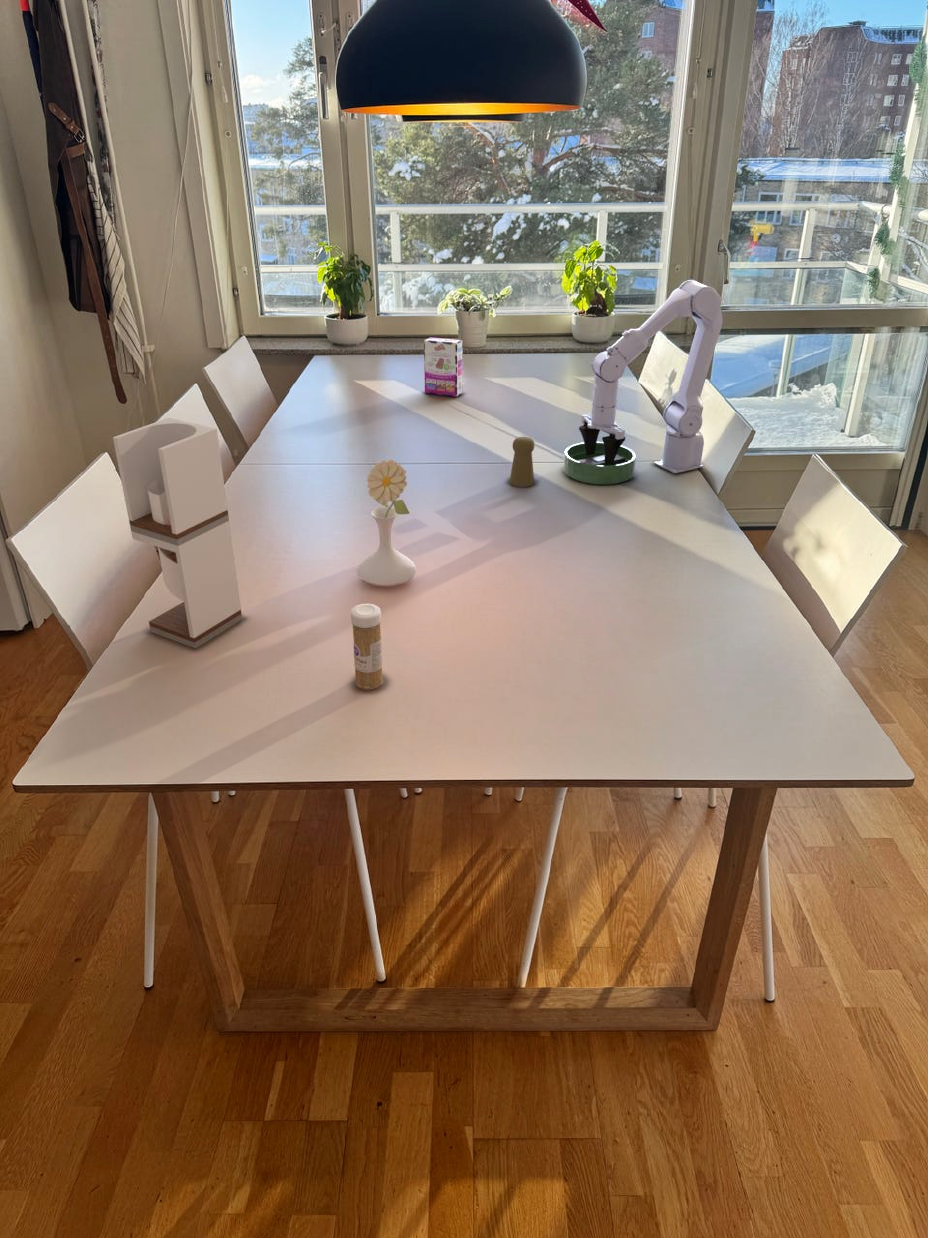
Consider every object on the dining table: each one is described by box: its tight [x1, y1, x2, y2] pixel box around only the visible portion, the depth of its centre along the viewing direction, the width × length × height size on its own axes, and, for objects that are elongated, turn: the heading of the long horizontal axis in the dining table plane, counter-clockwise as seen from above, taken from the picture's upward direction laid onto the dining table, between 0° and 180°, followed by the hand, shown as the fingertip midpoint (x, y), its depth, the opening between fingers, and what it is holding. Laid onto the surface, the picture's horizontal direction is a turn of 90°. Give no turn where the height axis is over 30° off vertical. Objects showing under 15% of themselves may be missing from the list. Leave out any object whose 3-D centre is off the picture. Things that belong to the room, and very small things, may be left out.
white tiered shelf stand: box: [112, 417, 243, 649], centre depth 149 cm, size 11×11×35 cm
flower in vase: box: [356, 459, 417, 588], centre depth 167 cm, size 13×11×25 cm
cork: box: [509, 436, 535, 488], centre depth 215 cm, size 6×6×11 cm
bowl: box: [563, 441, 637, 486], centre depth 222 cm, size 17×17×5 cm
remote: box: [577, 454, 625, 466], centre depth 222 cm, size 12×4×3 cm, turn 120°
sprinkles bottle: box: [350, 603, 384, 691], centre depth 140 cm, size 5×5×13 cm
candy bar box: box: [423, 336, 464, 398], centre depth 277 cm, size 11×5×16 cm, turn 67°
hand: (599, 458), depth 221 cm, fingers open, 7 cm apart
